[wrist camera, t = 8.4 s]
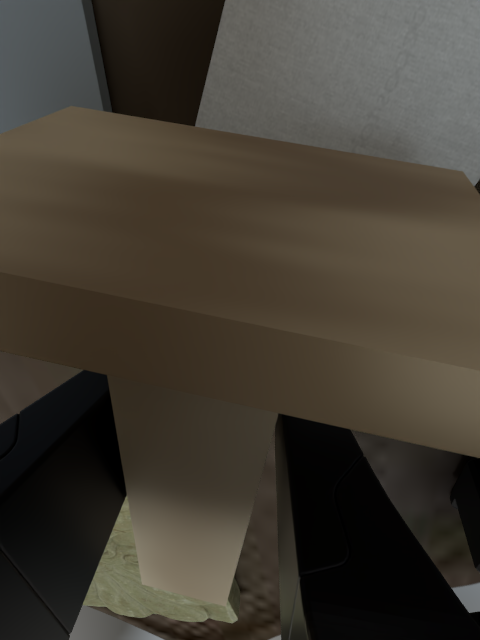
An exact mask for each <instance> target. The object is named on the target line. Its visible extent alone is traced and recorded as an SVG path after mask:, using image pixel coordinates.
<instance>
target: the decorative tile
mask: <svg viewBox="0 0 480 640" xmlns="http://www.w3.org/2000/svg"><path fill="white" fill-rule="evenodd" d="M239 604H240V590H239V587H238V585H237V582H236V580H235V578H233V582H232V585H231V589H230V593H229V596H228V600H227V603H226V607H225V606H222V605H218V604H214V603H210V602H207V601H203V600H199V599H195V598H191V597H188V596H184V595H180V594H176V593H173V592H169V591H165V590H161V589H158V588H154V587H150V586H146V585H143V584H142V581H141V575H140V569H139V563H138V557H137V551H136V545H135V539H134V533H133V527H132V521H131V515H130V510H129V504H128V498H127V496H126V498H125V501H124V503H123V506H122V508H121V510H120V513H119V515H118V518H117V520H116V523H115V525H114V528H113V530H112V533H111V535H110V538H109V540H108V543H107V545H106V548H105V550H104V553H103V555H102V558H101V560H100V563H99V565H98V568H97V570H96V573H95V575H94V578H93V580H92V582H91V585H90V587H89V590H88V592H87V595H86V597H85V600H84V602H83V605H86V606H106V607H108V608H109V609H110V610H111V611H113V612H115V613H117V614H120V615H126V616H131V617H139V618H141V617H147V616H149V615H151V614H161V615H163V616H166V617H168V618H171V619H176V620H181V621H189V622H198V621H200V622H202V621H204V620H206V619H208V618H211V619H215V620H220V621H225V622H230V623H233V622H235V621H237V620H238V614H239Z"/></svg>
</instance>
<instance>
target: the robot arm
mask: <svg viewBox="0 0 480 640" xmlns="http://www.w3.org/2000/svg"><path fill="white" fill-rule="evenodd" d="M275 462H276V492H277V522H278V552H279V582H280V612H281V640H480V612H473V613H469V612H468V611H467V610H466V608H465V607H464V605H463V604H462V603H461V601H460V600H459V598H458V597H457V596H456V594H455V593H454V591H453V590H452V589H451V587H450V586H449V584H448V583H447V581H446V580H445V579H444V577H443V576H442V574H441V573H440V571H439V570H438V569H437V567H436V566H435V564H434V563H433V562H432V560H431V559H430V557H429V556H428V554H427V553H426V552H425V550H424V549H423V547H422V546H421V545H420V543H419V542H418V540H417V539H416V537H415V536H414V535H413V533H412V532H411V530H410V529H409V527H408V526H407V524H406V523H405V521H404V520H403V519H402V517H401V516H400V514H399V513H398V511H397V510H396V508H395V507H394V505H393V504H392V502H391V501H390V499H389V497H388V496H387V494H386V492H385V491H384V489H383V487H382V485H381V484H380V482H379V480H378V479H377V477H376V475H375V474H374V472H373V470H372V468H371V466H370V464H369V463H368V461H367V459H366V457H364V456H363V452H362V450H361V448H360V446H359V445H358V443H357V441H356V439H355V437H354V435H353V434H352V432H351V430H350V429H347V428H342V427H338V426H333V425H329V424H324V423H320V422H315V421H311V420H306V419H302V418H297V417H293V416H289V415H284V414H280V413H279V414H278V417H277V421H276V425H275ZM126 496H127V492H126V486H125V480H124V474H123V468H122V462H121V456H120V450H119V444H118V438H117V432H116V426H115V420H114V414H113V408H112V402H111V396H110V390H109V384H108V378H107V375H105V374H100V373H96V372H92V371H87V370H83V371H82V372H80V373H78V374H77V375H75V376H74V377H72V378H71V379H69V380H68V381H66V382H65V383H63V384H62V385H60V386H59V387H57V388H55V389H54V390H52V391H51V392H49V393H48V394H46V395H45V396H43V397H42V398H40V399H39V400H37V401H35V402H34V403H32V404H31V405H29V406H28V407H26V408H25V409H23V410H22V411H20V414H15V415H14V416H12V417H11V418H9V419H8V420H6V421H5V422H3V423H2V424H0V640H69V637H70V635H69V634H70V633H71V632H72V630H73V627H74V625H75V622H76V620H77V617H78V615H79V612H80V610H81V607H82V605H83V602H84V600H85V597H86V595H87V592H88V590H89V587H90V585H91V582H92V580H93V578H94V575H95V573H96V570H97V568H98V565H99V563H100V560H101V558H102V555H103V553H104V550H105V548H106V545H107V543H108V540H109V538H110V535H111V533H112V530H113V528H114V525H115V523H116V520H117V518H118V515H119V513H120V510H121V508H122V506H123V503H124V501H125V498H126ZM450 500H451V504H452V506H453V507H454V508H456V509H458V511H459V514H460V517H461V521H462V524H463V528H464V531H465V535H466V538H467V542H468V545H469V548H470V552H471V555H472V559H473V562H474V566H475V568H476V569H477V570H478V572H479V573H480V458H477V457H471V459H470V460H469V461H468V462H467V463H466V465H465V467H464V469H463V471H462V473H461V474H460V476H459V478H458V480H457V482H456V484H455V486H454V488H453V492H452V494H451V496H450Z"/></svg>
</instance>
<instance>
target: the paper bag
mask: <svg viewBox="0 0 480 640" xmlns="http://www.w3.org/2000/svg"><path fill="white" fill-rule="evenodd" d="M195 127H201V128H207V129H213V130H219V131H225V132H231V133H236V134H242V135H248V136H254V137H260V138H266V139H272V140H278V141H284V142H290V143H296V144H302V145H308V146H314V147H320V148H326V149H332V150H338V151H344V152H350V153H356V154H362V155H368V156H374V157H380V158H386V159H392V160H398V161H404V162H410V163H416V164H422V165H428V166H434V167H440V168H446V169H452V170H458V171H463V172H464V174H465V175H466V176H467V178H468V179H469V180H470V182H471V183H472V185H473V186H475V185H476V183H477V182H478V181H479V179H480V0H225V4H224V8H223V12H222V16H221V20H220V25H219V29H218V33H217V37H216V41H215V45H214V49H213V54H212V58H211V62H210V66H209V70H208V74H207V78H206V83H205V87H204V91H203V95H202V99H201V103H200V107H199V112H198V116H197V120H196V124H195Z"/></svg>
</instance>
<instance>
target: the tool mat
mask: <svg viewBox="0 0 480 640" xmlns="http://www.w3.org/2000/svg"><path fill="white" fill-rule="evenodd" d="M70 106H75V107H81V108H87V109H93V110H99V111H105V112H111V113H112V108H111V103H110V97H109V92H108V87H107V81H106V76H105V71H104V65H103V60H102V55H101V49H100V44H99V39H98V34H97V28H96V23H95V18H94V12H93V7H92V2H91V0H0V134H1V133H4V132H6V131H9V130H12V129H14V128H17V127H19V126H22V125H24V124H27V123H29V122H32V121H34V120H37V119H39V118H42V117H44V116H47V115H49V114H52V113H54V112H57V111H59V110H62V109H65V108H67V107H70Z"/></svg>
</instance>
